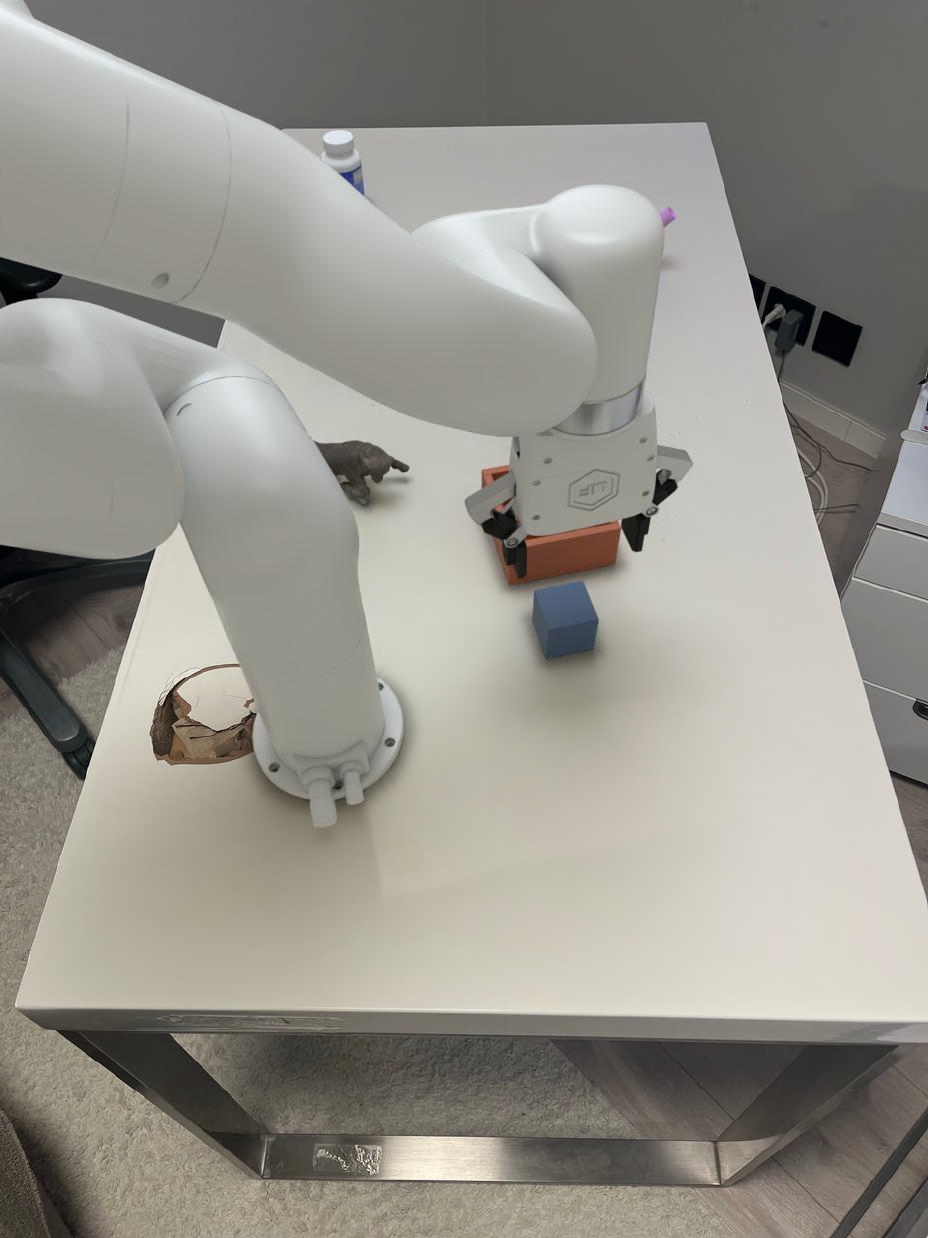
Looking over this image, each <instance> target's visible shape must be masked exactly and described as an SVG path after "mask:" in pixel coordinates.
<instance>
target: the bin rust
mask: <svg viewBox="0 0 928 1238" xmlns="http://www.w3.org/2000/svg"><path fill="white" fill-rule="evenodd" d="M507 473H509V464H505V465H499V466H493V467H488V468H483V469H481V489H482V488H484V487H485V486H487V485H489V484H490V483H492V482H494V481H495V480H497V479H499V478H500V477H502V476H504V475H505V474H507ZM512 499H513V497H512V498H511V499H509V500H507V501H506V502H504V503H502V504H501V505H499V506H497V507H495V508H494V510H496V511H498V512H500V511H501V510H502V509H503V508H504V507H505V506H506V505H507V504H508V503H509V502H510V501H511V500H512ZM516 520H517V521H519V517H517V518H516ZM621 532H622V528H621V523H620V522H619V520H616V521H612V522H607V523H603V524H599V525H594V526H590V527H585V528H581V529H577V531H572V532H567V533H562V534H556V535H551V536H546V537H541V538H536V539H531V540H527V538H526V537H525V538H524V540H525V543H526V546H527V576H525V578H521V579H518V577H517V574H516V572H515V569H514V566H513V565H510V566H507V565H506V563H505V560H504V557H503V552H502V540H500V539H498V538H495V537H493V536H491V537H492V540H493V543H494V546H495V549H496V552H497V555H498V558H499V561H500V564H501V567H502V570H503V573H504V575H505V579H506V582H507V584H508V586H512V585H515V584H516V585H517V584H521V583H526V582H531V581H536V580H540V579H541V580H542V579H546V578H551V577H556V576H557V577H558V576H562V575H567V574H571V573H572V574H573V573H576V572H577V573H578V572H580V571H586V570H591V569H596V568H603V567H607V566H611V565H615V564H616V562H617V557H618V550H619V544H620V540H621V539H620V538H621V534H622V533H621Z"/></svg>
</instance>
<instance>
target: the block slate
mask: <svg viewBox="0 0 928 1238" xmlns="http://www.w3.org/2000/svg"><path fill="white" fill-rule="evenodd" d="M531 620H532V623H533V627H534V629H535V633H536V635H537V638H538V641H539V644H540V647H541V650H542V653H543V656H544V658H545V659H546V660H550V659H554V658H559V657H564V656H568V655H574V654H578V653H583V652H587V651H592V650H595V645H596V640H597V633H598V628H599V620H600V619H599V617H598V614H597V611H596V609H595V606H594V604H593V602H592V599H591V596H590V594H589V592H588V589H587V587H586V584H585V581H584V580H576V581H572V582H567V583H561V584H558V585H551V586H547V587H543V588H537V589H534V590H533V602H532V617H531Z"/></svg>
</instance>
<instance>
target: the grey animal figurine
mask: <svg viewBox="0 0 928 1238" xmlns="http://www.w3.org/2000/svg"><path fill="white" fill-rule="evenodd" d="M313 441H314V442H315V444H316V446H317V447H318V449H319V451H320V452H321V454H322V456H323V457H324V459H325V461H326V462H327V464H328V465H329V467H330V469H331V470H332V472H333V474H334V476H338V475H339V476H344V477H345V478H346V481H345V480H344V481H342V482H340V483H339V484H340V486H341V488H342V490H343V492H344V493H346V494H347V495H349V496H350V497H352V498H354V499H356V500H357V502H358V503H359V504H360V505H362V506H367V505H369V504H371V499H370V498H369V497H370V494H371V489H370V487H369V486H368V484H367V481H366V479H365V477H368V476H369V477H370V479H371V481H372V482H373V483H375V484H380V483H381V482H382V481H383V480H384V476H385V475H386V474H388V473H389V472H390V470H391V469H393V470H398V471H399V472H400V473H408V472H409V470H410V468H411V467H410V466H409V465H408V464H407V463H405V462H402V461H401V460H399V459H397V458H396V459H395V457H394V456H392V455H390V454H388V453H387V451H386V450H384V449H382V448H381V447H380V446H378V445H376V444H373V443H372V442H369V441H362V440H357V439H355V440H354V439H353V440H347V441H343V442H326V443H325V442H319V441H316V440H314V439H313Z"/></svg>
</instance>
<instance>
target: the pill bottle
mask: <svg viewBox="0 0 928 1238" xmlns="http://www.w3.org/2000/svg"><path fill="white" fill-rule="evenodd" d="M322 144H323V150H324V151H323V152H322V153H321V155H320V158H321V159H322V160H323V161H325V162H326V163H327V164H328V165H329V166H330V167H332V168H333V169H334V170H335V171H336V172H338V173H339V174H340V175H341V176H342V177H343V178H344V179H345V180H347V181H348V182H349V183H350V184H351V185H352V186H353V187H354V188H355V189H356V190H358V191H359V192H360V193H361V194H362V195H363V196H364V197H365V198H366V195H365V194H366V193H365V185H364V176H363V166H362V159H361V158H362V157H361V154H360V152H359V151H358V150H357V149H356V148H355V140H354V134H353V133H351V132H350V131H347V130H344V129H335V130H331V131H328V132H326V133H325V134H324V135H323V136H322Z"/></svg>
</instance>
